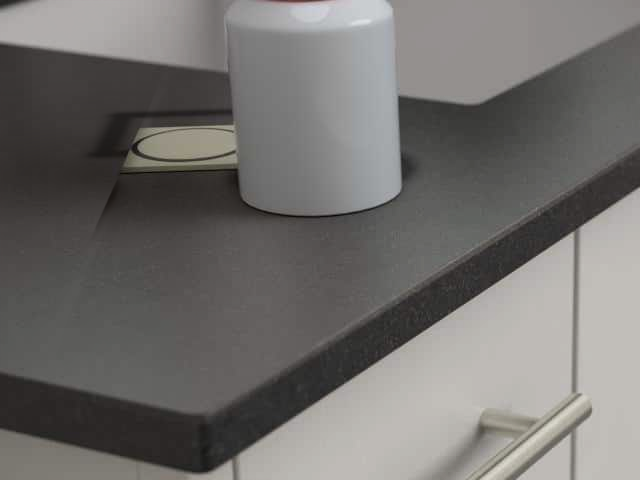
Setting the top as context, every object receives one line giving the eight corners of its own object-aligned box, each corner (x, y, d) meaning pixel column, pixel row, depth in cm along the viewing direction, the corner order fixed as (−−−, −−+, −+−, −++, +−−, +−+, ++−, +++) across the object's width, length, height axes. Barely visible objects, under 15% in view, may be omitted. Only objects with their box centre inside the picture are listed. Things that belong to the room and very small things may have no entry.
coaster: (103, 173, 81) (102, 166, 81) (122, 134, 87) (121, 127, 87) (265, 168, 82) (264, 160, 82) (272, 129, 88) (272, 122, 88)
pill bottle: (221, 178, 80) (198, -55, 75) (370, 158, 83) (358, -69, 78) (265, 226, 74) (244, -25, 69) (425, 202, 77) (416, -42, 71)
